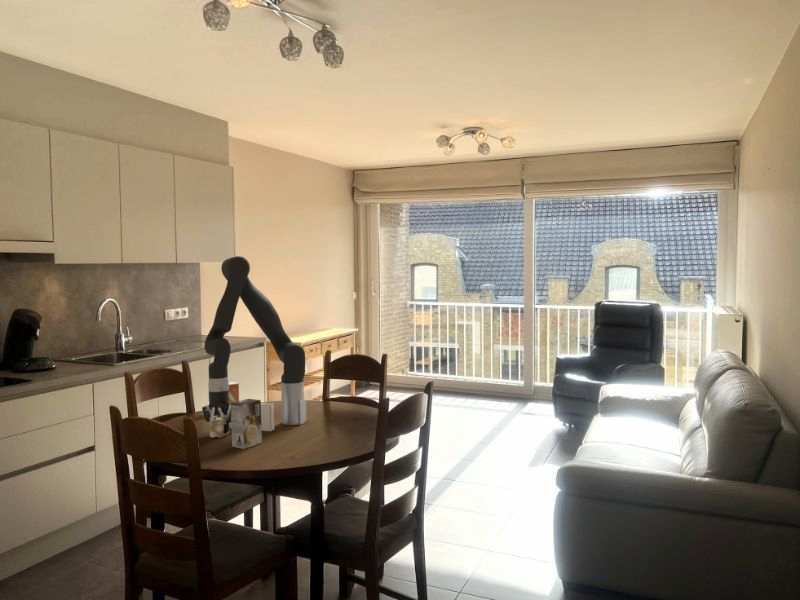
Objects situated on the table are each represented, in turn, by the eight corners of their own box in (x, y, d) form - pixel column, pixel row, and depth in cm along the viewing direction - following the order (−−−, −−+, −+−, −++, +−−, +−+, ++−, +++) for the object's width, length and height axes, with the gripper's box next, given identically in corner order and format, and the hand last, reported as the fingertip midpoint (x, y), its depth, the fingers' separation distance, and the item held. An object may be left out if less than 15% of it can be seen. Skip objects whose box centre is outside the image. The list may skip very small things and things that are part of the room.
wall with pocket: (274, 429, 246) (273, 403, 245) (271, 431, 243) (270, 404, 243) (253, 428, 248) (253, 402, 248) (250, 430, 245) (249, 403, 245)
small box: (221, 414, 274) (221, 385, 274) (217, 411, 280) (216, 383, 279) (239, 411, 279) (239, 383, 278) (235, 409, 284) (234, 381, 284)
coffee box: (250, 440, 230) (248, 398, 229) (262, 443, 226) (261, 399, 226) (231, 446, 222) (230, 402, 221) (244, 449, 218) (242, 404, 218)
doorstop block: (230, 433, 241) (229, 417, 241) (220, 437, 234) (220, 422, 234) (219, 432, 242) (219, 417, 242) (210, 437, 235) (209, 421, 235)
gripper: (240, 387, 239) (241, 431, 240) (207, 386, 243) (208, 429, 243) (230, 391, 232) (231, 436, 233) (196, 390, 235) (198, 434, 236)
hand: (220, 432), depth 238 cm, fingers closed on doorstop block, 4 cm apart
